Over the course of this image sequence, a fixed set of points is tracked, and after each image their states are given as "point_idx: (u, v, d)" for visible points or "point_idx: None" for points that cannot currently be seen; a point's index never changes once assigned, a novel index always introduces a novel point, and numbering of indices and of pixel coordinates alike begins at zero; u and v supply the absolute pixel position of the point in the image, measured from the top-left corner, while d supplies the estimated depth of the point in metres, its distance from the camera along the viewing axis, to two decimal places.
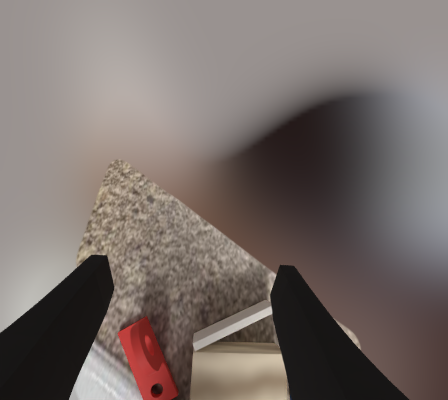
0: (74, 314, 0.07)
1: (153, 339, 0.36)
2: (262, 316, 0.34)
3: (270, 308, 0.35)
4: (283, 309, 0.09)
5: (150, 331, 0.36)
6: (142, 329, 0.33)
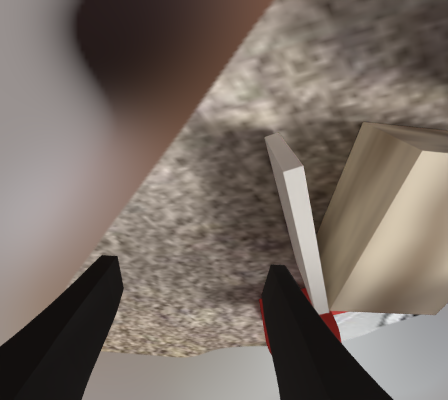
0: (87, 315, 0.07)
1: None
2: (306, 206, 0.13)
3: (291, 185, 0.12)
4: (273, 309, 0.09)
5: None
6: None
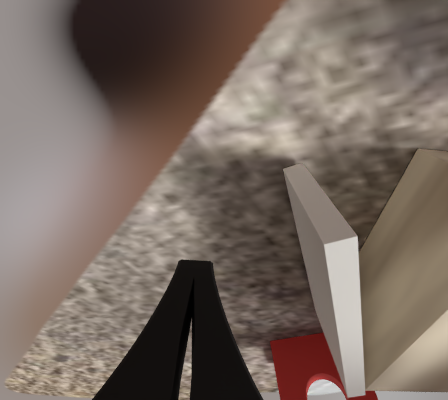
0: (186, 318, 0.08)
1: (313, 353, 0.20)
2: (353, 287, 0.08)
3: (335, 261, 0.08)
4: (192, 305, 0.09)
5: (298, 353, 0.20)
6: None
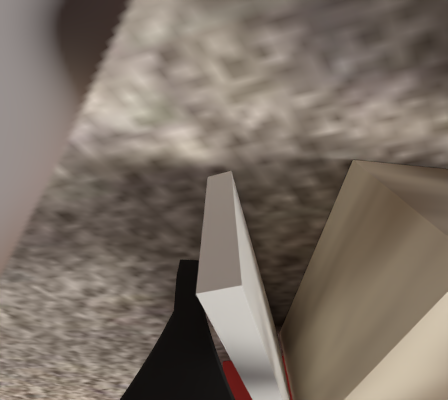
0: None
1: None
2: (254, 346, 0.06)
3: (219, 315, 0.05)
4: None
5: None
6: None
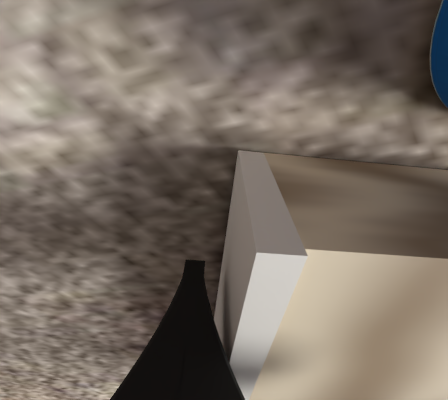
0: None
1: None
2: (269, 327, 0.06)
3: (261, 284, 0.05)
4: None
5: None
6: None
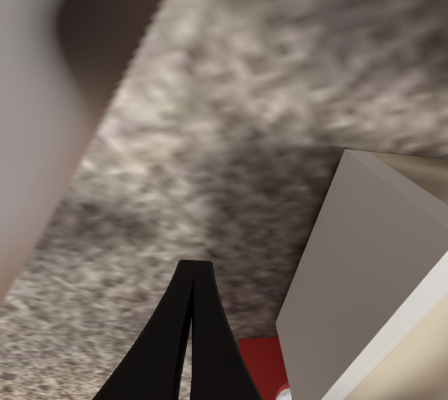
0: (186, 318, 0.08)
1: None
2: (428, 305, 0.07)
3: (445, 266, 0.06)
4: (192, 305, 0.09)
5: (270, 356, 0.17)
6: None
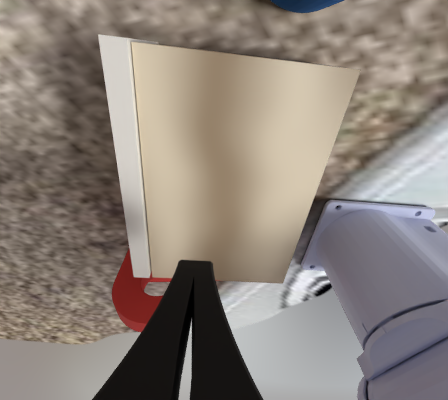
0: (186, 318, 0.08)
1: None
2: (127, 109, 0.10)
3: (109, 64, 0.09)
4: (192, 305, 0.09)
5: None
6: (127, 284, 0.17)
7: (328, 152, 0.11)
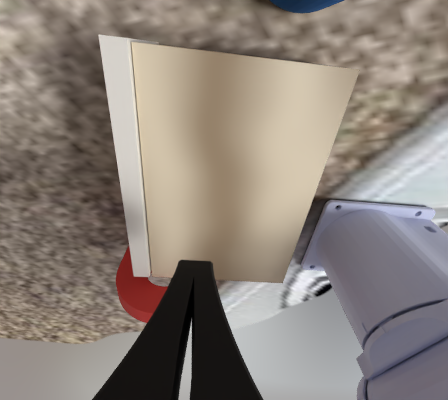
0: (186, 318, 0.08)
1: None
2: (128, 108, 0.10)
3: (109, 64, 0.09)
4: None
5: None
6: (131, 272, 0.17)
7: (327, 152, 0.11)
